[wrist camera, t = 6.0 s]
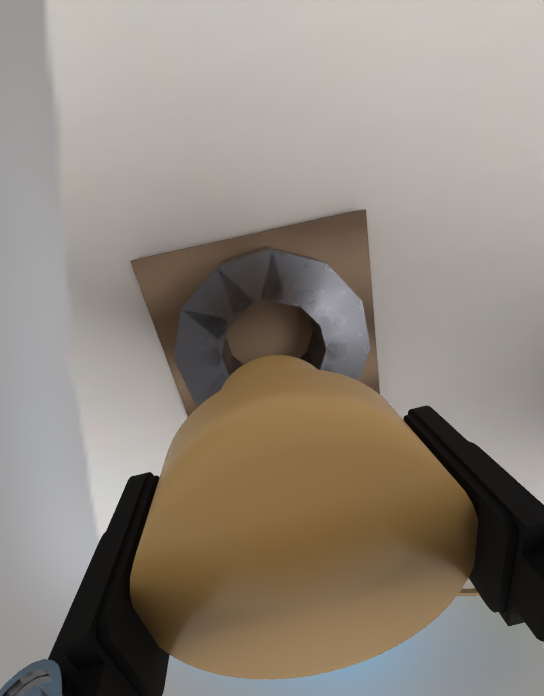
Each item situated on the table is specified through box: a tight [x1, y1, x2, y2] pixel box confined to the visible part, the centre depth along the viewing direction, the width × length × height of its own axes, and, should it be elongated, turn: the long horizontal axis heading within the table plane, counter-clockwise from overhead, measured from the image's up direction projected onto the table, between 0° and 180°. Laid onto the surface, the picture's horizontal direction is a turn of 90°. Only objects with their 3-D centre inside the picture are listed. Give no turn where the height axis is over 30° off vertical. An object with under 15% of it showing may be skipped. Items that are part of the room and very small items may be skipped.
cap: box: [130, 355, 478, 679], centre depth 10 cm, size 8×8×7 cm
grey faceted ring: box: [174, 246, 371, 406], centre depth 21 cm, size 12×12×4 cm
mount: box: [131, 209, 380, 417], centre depth 25 cm, size 26×16×1 cm, turn 12°
